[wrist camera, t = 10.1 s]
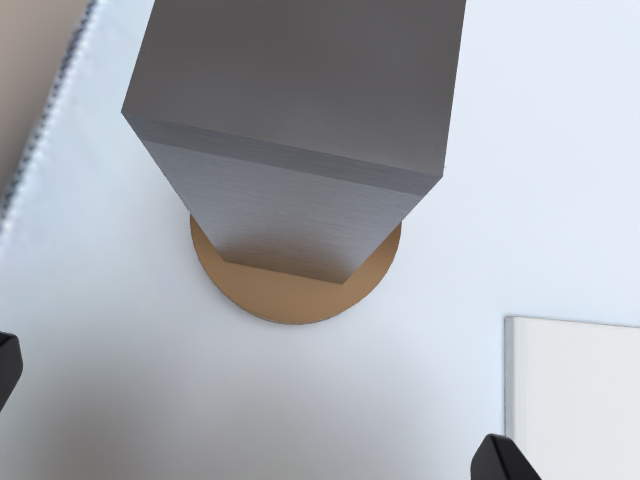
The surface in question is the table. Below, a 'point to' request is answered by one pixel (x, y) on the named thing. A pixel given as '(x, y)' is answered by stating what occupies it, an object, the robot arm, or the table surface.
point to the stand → (292, 284)
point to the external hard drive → (574, 398)
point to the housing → (297, 121)
